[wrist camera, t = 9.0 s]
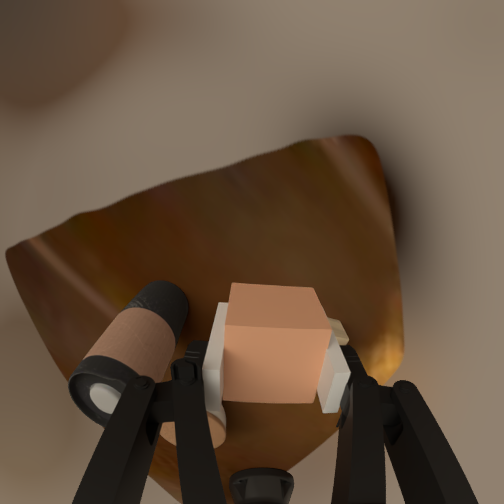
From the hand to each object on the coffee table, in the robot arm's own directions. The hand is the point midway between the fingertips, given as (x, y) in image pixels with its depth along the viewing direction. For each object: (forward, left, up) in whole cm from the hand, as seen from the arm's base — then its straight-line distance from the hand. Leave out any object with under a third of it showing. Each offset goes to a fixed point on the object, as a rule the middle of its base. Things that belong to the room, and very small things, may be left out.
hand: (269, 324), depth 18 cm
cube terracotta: (0, 0, 0) cm, 0 cm away
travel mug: (-9, +13, -19) cm, 25 cm away
